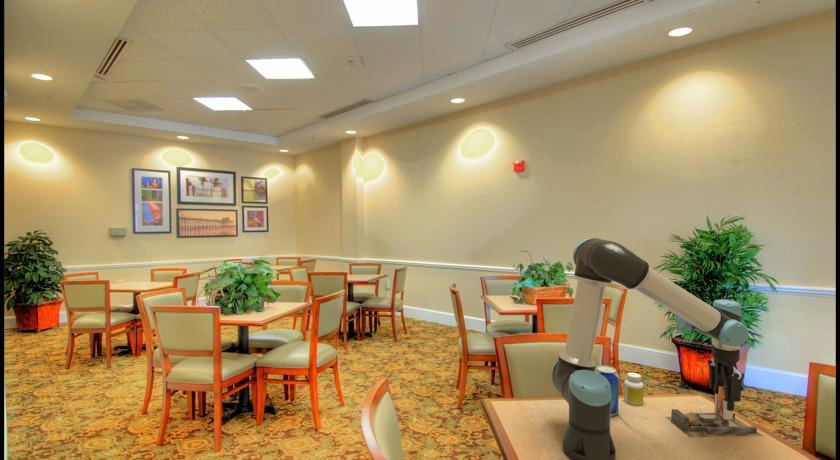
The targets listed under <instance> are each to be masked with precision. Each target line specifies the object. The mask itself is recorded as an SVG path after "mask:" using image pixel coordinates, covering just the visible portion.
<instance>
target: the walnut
mask: <svg viewBox="0 0 840 460" xmlns="http://www.w3.org/2000/svg"><path fill="white" fill-rule="evenodd" d="M694 413H695V412H687V413H685V414H684V415H686V416H687V417H688V418H689V426H698V425H699V422H700V421H699V418H698V416H697V415H696V414H694Z"/></svg>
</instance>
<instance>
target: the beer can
mask: <svg viewBox="0 0 840 460" xmlns="http://www.w3.org/2000/svg"><path fill="white" fill-rule="evenodd" d="M594 372H596V373H597V374H601V375H603V376H604V377H605V378H606V379H607V380H608V381H609V383H610V387H611V411H610V418H612V417H614V416H615V417H616V415H617V413H618V412H619V398H620V397H619V394H620V393H619V392H620V391H619V390H620V375H619V374H618V372H617V369H616V368H614V367H613V366H609V365H598V366H596V368H595V371H594Z"/></svg>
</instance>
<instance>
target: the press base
mask: <svg viewBox="0 0 840 460" xmlns="http://www.w3.org/2000/svg"><path fill="white" fill-rule="evenodd" d="M693 413H694V414H696V415H697V416H698V418H699V415H718V414H716V413H714V412H693ZM665 419H667V420H668V421H669V422H670V423H672V424H673V425H675V426H676V427H677V428H678V429H679V430H681V432H683V433H684V434H685V435H686V436H688V437H689V438H708V437H709V438H710V437H711V438H714V437H715V438H719V437H761V436H762V437H763V436H764V435H763V434H761V433H760V432H758V428H757V427H756V426H754V425H750V426H749V425H748V424H746V423H745V422H743V421H741V420H740V419H738V418H736V413H734V412H733V419H729V420H730V421H732V422H733V423H735V424H736V425H738V426H736V427H716V426H714V425H713V424H703V423H702V422H701V421H700V422H699V425H698V426H689V418H688V417H687V416H686V415H685V414H684V412H681V411H680V410H679V409H678V408H677V409H673V408H671V416H665Z"/></svg>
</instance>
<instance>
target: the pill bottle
mask: <svg viewBox="0 0 840 460" xmlns="http://www.w3.org/2000/svg"><path fill="white" fill-rule="evenodd" d="M626 377H627V379H625V380H624V382H623V383H624V384H623V385H624V386H623V387H624V389H623V390H624V391H623V402H624V403H625V404H627V405H629V406H633V407H641V406H643V405H644V387H645V386H644V383H643V382H642V381H641V380H642V375H641V374H640V373H636V372H628V373H626Z"/></svg>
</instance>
